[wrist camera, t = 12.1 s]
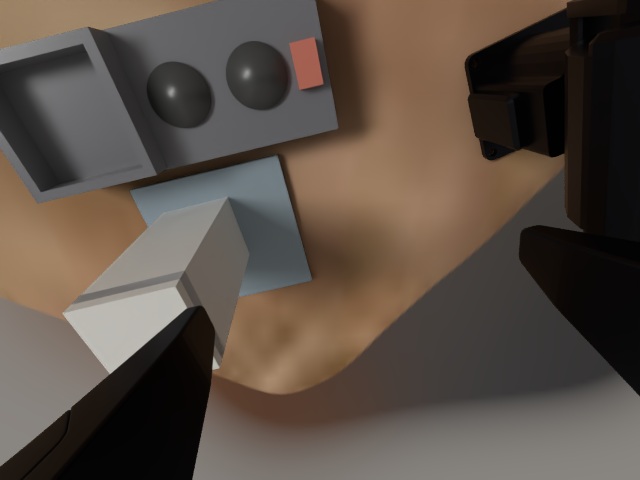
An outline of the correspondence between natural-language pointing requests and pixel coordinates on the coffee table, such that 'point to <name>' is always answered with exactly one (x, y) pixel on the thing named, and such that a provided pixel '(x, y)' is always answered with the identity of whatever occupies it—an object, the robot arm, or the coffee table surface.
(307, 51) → the power strip
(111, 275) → the block
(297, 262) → the rubber pad
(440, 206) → the coffee table surface
